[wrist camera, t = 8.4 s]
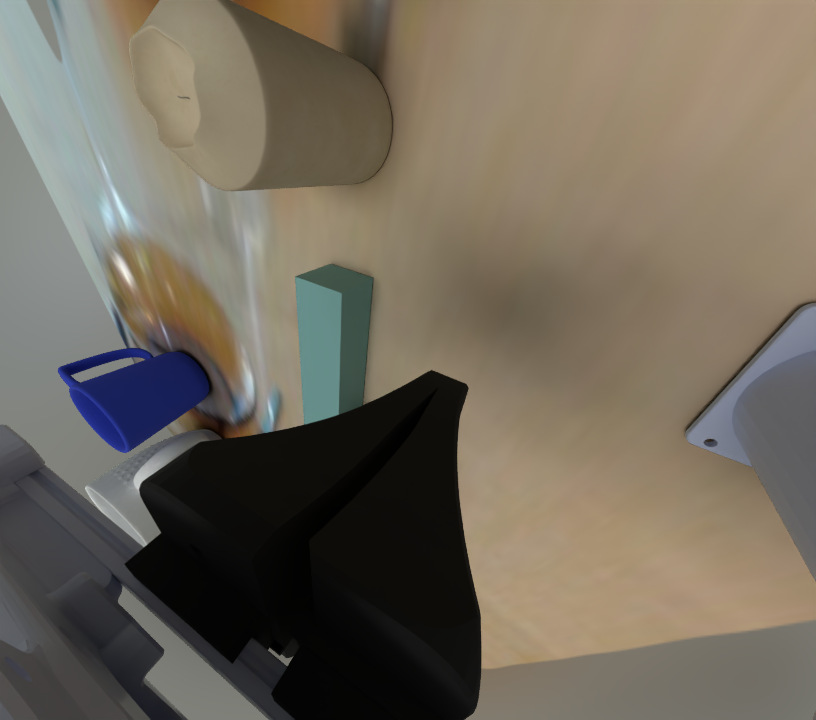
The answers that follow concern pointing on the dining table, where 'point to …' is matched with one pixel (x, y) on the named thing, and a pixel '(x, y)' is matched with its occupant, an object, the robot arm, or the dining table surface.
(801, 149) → the dining table surface
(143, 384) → the mug
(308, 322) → the teal rectangular bar
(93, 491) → the mug
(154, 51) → the candle
